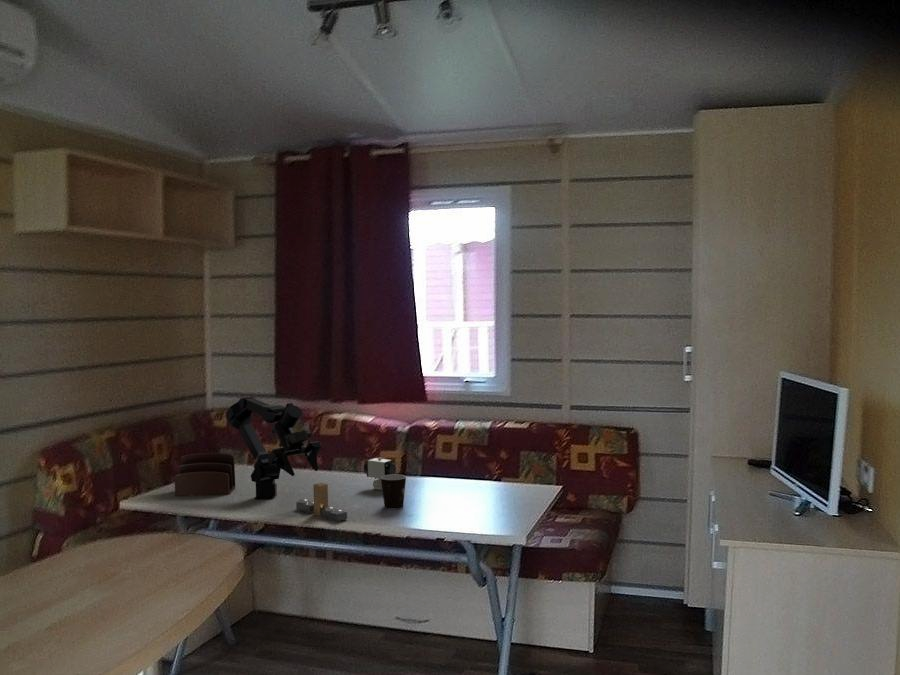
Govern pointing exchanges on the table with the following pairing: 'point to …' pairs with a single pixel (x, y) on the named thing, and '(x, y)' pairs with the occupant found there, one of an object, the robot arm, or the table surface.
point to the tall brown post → (320, 498)
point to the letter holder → (205, 474)
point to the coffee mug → (393, 490)
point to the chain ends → (327, 513)
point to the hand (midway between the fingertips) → (305, 472)
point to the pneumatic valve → (379, 470)
